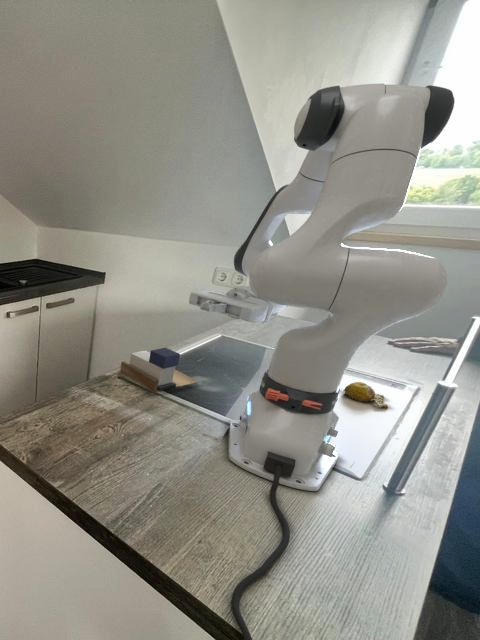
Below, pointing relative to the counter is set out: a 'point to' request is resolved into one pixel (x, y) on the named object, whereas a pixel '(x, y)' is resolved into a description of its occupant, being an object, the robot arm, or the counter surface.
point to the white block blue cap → (157, 365)
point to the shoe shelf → (150, 381)
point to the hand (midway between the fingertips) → (204, 307)
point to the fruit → (363, 393)
